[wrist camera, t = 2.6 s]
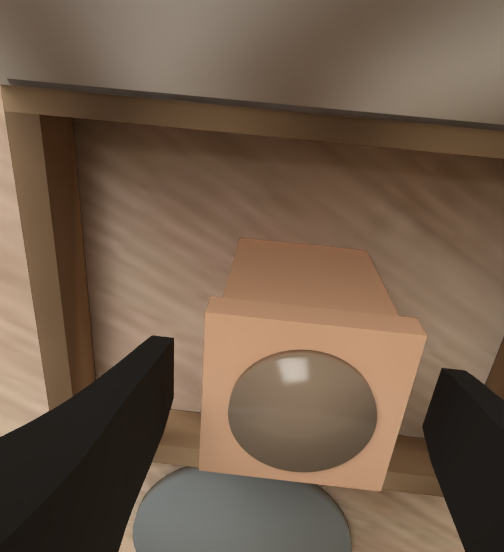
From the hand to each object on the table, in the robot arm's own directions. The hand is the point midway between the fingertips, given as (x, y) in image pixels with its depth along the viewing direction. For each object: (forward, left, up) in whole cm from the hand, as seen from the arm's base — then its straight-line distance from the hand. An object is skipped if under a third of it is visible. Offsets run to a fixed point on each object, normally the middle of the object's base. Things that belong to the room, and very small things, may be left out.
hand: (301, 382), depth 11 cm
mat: (-1, -14, -5) cm, 15 cm away
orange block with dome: (0, 0, -5) cm, 5 cm away
